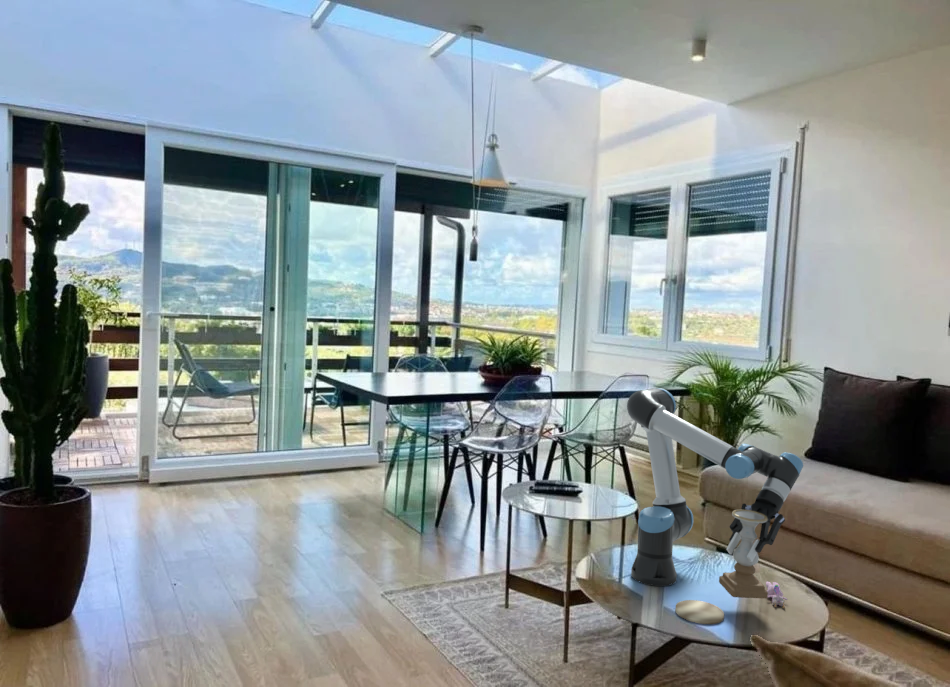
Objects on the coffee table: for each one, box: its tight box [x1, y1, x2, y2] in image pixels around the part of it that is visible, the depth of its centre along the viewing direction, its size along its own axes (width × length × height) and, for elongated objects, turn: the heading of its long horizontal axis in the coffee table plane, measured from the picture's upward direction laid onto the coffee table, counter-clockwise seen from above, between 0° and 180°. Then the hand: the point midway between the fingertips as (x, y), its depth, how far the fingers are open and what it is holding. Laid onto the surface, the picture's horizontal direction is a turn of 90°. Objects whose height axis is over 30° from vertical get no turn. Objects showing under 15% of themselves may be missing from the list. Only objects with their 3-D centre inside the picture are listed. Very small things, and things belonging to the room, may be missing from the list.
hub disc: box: [675, 599, 725, 625], centre depth 206 cm, size 14×14×1 cm
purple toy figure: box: [765, 581, 788, 609], centre depth 218 cm, size 6×6×15 cm
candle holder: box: [718, 508, 769, 599], centre depth 208 cm, size 11×11×24 cm
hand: (739, 555), depth 206 cm, fingers closed on candle holder, 6 cm apart
